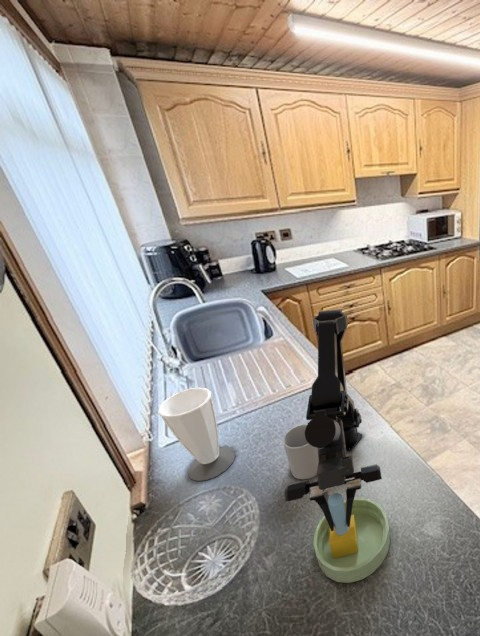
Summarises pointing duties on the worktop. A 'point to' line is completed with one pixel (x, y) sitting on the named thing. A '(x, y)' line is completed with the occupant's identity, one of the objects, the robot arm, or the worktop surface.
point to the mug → (300, 453)
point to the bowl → (370, 544)
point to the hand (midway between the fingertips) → (340, 528)
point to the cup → (197, 431)
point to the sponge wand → (341, 529)
